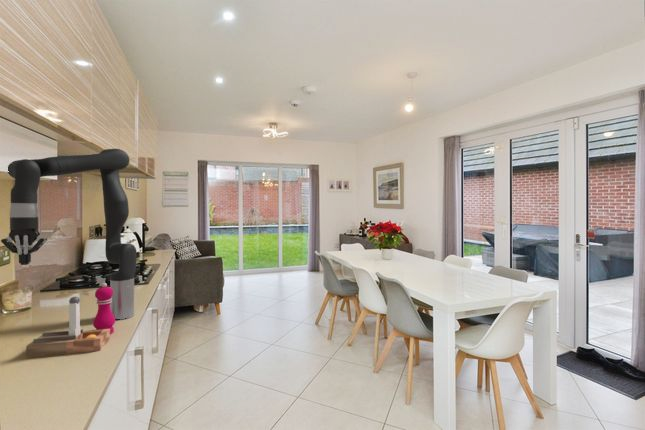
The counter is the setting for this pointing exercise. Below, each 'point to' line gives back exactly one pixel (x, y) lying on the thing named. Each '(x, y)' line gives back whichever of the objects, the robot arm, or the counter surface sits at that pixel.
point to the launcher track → (67, 343)
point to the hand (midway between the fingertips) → (24, 264)
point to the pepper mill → (104, 309)
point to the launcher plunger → (74, 316)
